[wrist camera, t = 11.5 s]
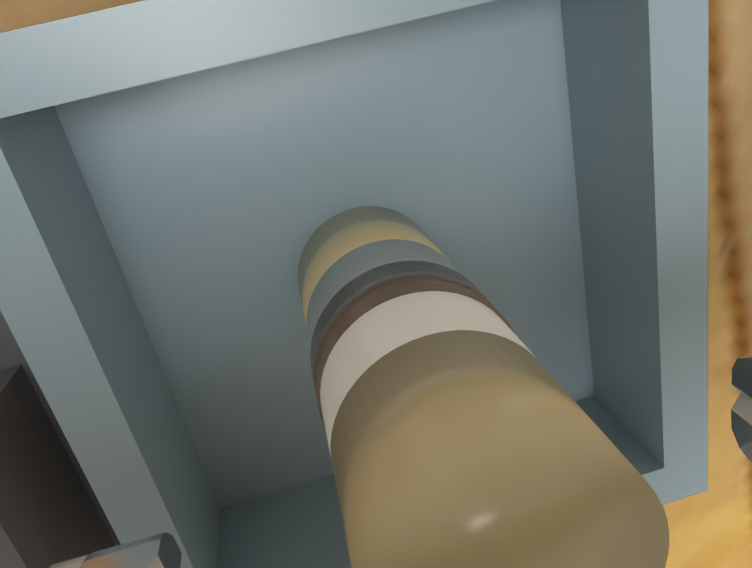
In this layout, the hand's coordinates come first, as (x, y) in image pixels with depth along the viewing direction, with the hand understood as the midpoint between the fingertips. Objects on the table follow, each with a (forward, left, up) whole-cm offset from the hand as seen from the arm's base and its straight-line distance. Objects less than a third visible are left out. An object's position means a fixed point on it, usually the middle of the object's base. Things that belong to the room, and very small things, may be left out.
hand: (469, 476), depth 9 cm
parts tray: (0, 0, -9) cm, 9 cm away
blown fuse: (0, 0, -8) cm, 8 cm away
